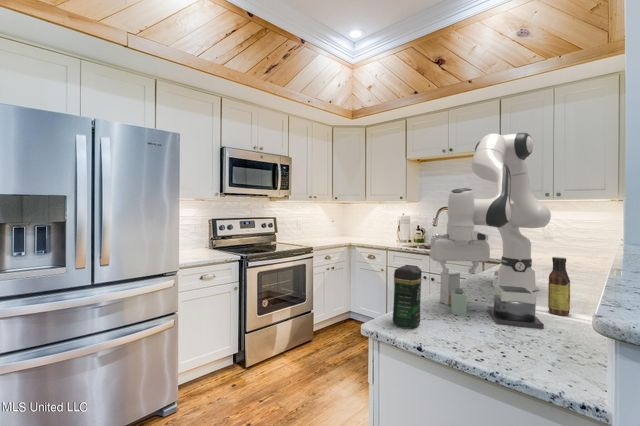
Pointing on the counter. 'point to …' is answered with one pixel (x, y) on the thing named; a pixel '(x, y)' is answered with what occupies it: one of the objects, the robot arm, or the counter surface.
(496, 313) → the framed dark dome
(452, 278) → the skincare box
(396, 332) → the counter surface
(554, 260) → the sauce bottle
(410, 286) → the coffee jar
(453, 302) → the pale green block
